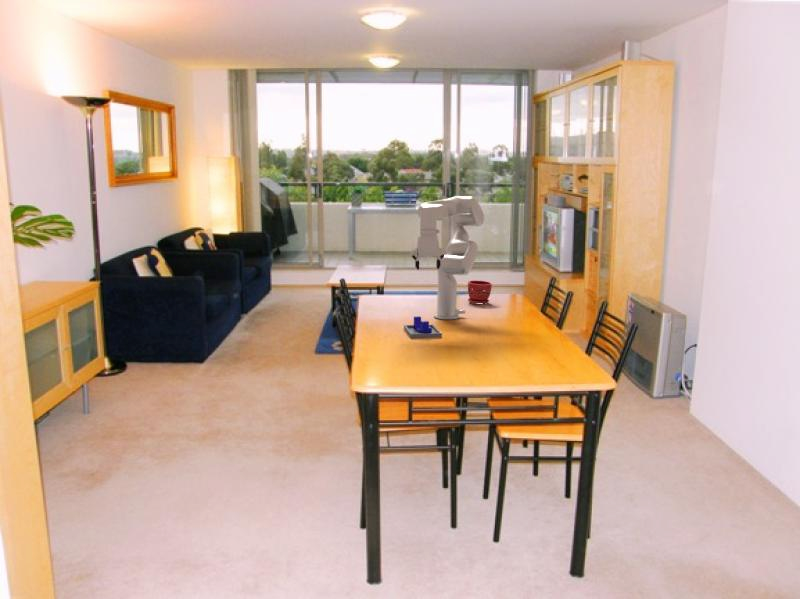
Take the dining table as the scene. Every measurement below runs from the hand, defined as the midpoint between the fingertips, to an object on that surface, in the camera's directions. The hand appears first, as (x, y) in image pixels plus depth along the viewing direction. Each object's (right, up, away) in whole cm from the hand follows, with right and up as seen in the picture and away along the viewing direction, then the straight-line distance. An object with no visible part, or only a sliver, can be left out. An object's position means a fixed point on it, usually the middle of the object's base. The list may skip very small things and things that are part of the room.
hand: (427, 268), depth 338 cm
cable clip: (-3, -29, -11) cm, 32 cm away
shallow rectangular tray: (-3, -30, -11) cm, 32 cm away
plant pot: (+31, -17, +65) cm, 74 cm away
